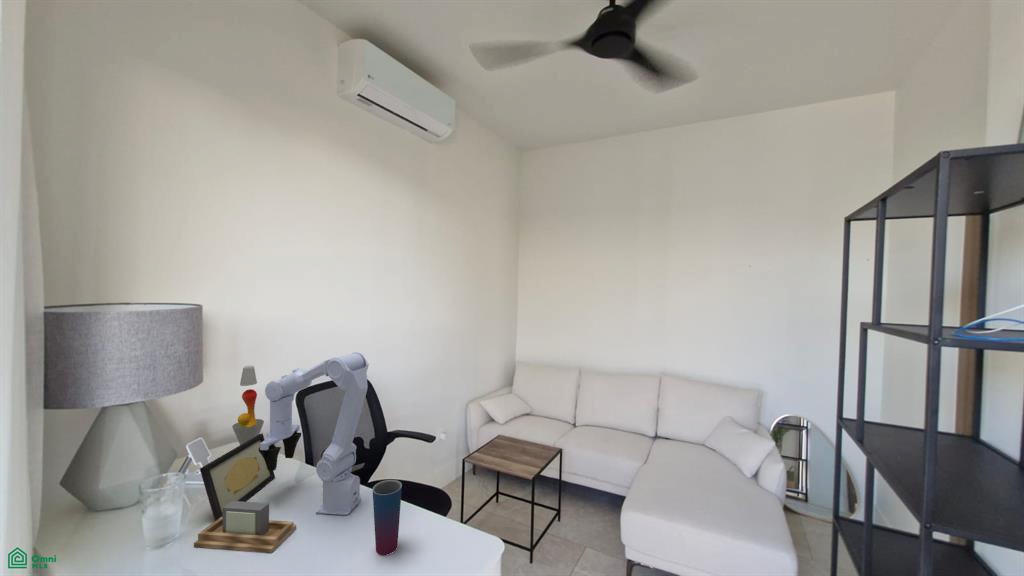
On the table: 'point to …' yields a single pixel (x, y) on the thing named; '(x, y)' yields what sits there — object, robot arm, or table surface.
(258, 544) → the wooden tray
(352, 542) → the table surface
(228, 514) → the grey rectangular prism
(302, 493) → the table surface
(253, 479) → the picture frame
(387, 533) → the cup
